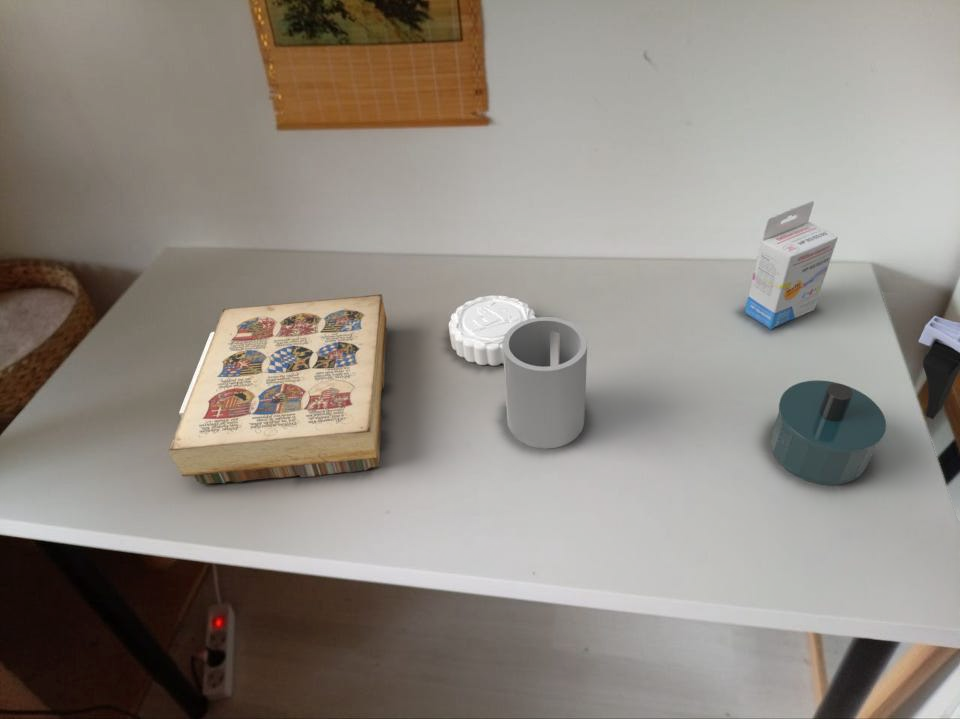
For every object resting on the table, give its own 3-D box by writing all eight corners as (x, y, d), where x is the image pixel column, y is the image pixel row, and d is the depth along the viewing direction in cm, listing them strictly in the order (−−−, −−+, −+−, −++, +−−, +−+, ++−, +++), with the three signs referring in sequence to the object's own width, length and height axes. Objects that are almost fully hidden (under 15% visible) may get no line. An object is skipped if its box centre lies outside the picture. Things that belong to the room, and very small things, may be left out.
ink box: (771, 331, 91) (796, 235, 81) (743, 312, 94) (764, 218, 85) (816, 310, 94) (846, 214, 84) (787, 292, 97) (813, 198, 87)
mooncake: (519, 304, 99) (518, 283, 97) (551, 353, 91) (550, 332, 88) (440, 324, 97) (437, 303, 95) (465, 376, 88) (462, 355, 86)
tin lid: (905, 444, 69) (920, 414, 66) (814, 467, 67) (825, 437, 65) (841, 379, 76) (852, 350, 74) (758, 398, 75) (766, 369, 72)
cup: (516, 454, 78) (511, 377, 70) (501, 400, 85) (495, 324, 77) (593, 440, 78) (597, 362, 71) (572, 388, 85) (574, 311, 77)
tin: (885, 473, 72) (902, 438, 69) (803, 494, 71) (816, 460, 67) (829, 411, 79) (842, 377, 76) (754, 429, 78) (763, 396, 74)
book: (220, 339, 99) (163, 491, 77) (205, 303, 95) (141, 453, 73) (389, 323, 99) (379, 470, 77) (382, 286, 95) (370, 432, 73)
